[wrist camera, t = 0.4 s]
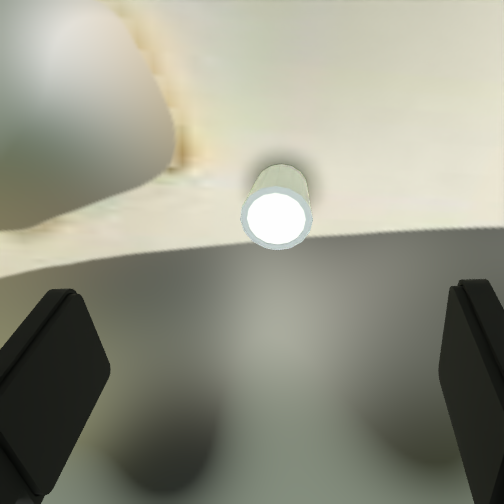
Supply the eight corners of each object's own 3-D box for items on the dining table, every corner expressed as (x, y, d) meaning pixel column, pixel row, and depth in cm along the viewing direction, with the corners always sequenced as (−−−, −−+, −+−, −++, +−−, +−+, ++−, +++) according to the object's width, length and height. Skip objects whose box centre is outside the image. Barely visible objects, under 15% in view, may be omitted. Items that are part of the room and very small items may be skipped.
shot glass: (324, 172, 47) (324, 202, 41) (298, 225, 50) (295, 260, 45) (262, 148, 46) (254, 175, 40) (241, 203, 50) (230, 236, 44)
